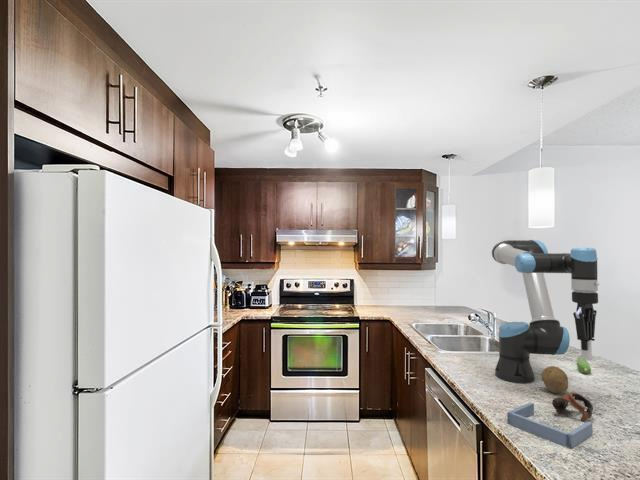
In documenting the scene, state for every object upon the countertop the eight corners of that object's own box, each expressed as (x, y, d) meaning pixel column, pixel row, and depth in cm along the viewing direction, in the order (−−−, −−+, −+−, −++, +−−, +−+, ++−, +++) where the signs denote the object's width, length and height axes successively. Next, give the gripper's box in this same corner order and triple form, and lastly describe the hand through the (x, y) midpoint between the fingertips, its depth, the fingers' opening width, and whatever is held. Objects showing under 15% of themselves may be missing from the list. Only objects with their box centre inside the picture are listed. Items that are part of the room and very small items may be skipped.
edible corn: (576, 364, 164) (588, 363, 162) (574, 355, 181) (584, 353, 178) (581, 376, 163) (593, 375, 160) (577, 365, 180) (588, 364, 177)
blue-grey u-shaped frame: (507, 423, 116) (507, 412, 116) (530, 412, 124) (530, 402, 124) (571, 448, 101) (570, 436, 101) (592, 434, 109) (592, 422, 109)
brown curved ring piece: (569, 408, 129) (583, 391, 125) (588, 432, 120) (603, 415, 117) (540, 402, 127) (553, 384, 123) (557, 426, 118) (571, 408, 115)
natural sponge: (543, 386, 148) (543, 361, 149) (570, 391, 143) (569, 365, 143) (539, 393, 141) (539, 367, 142) (567, 399, 136) (567, 371, 136)
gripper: (589, 293, 122) (591, 365, 121) (604, 291, 129) (606, 358, 129) (564, 291, 129) (565, 359, 128) (580, 289, 136) (582, 354, 135)
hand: (586, 359), depth 128 cm, fingers closed
